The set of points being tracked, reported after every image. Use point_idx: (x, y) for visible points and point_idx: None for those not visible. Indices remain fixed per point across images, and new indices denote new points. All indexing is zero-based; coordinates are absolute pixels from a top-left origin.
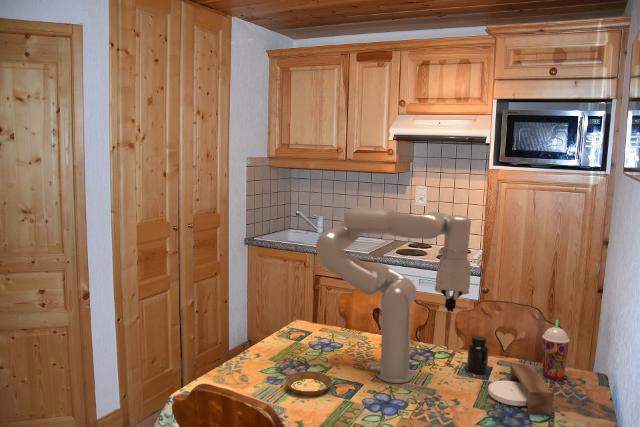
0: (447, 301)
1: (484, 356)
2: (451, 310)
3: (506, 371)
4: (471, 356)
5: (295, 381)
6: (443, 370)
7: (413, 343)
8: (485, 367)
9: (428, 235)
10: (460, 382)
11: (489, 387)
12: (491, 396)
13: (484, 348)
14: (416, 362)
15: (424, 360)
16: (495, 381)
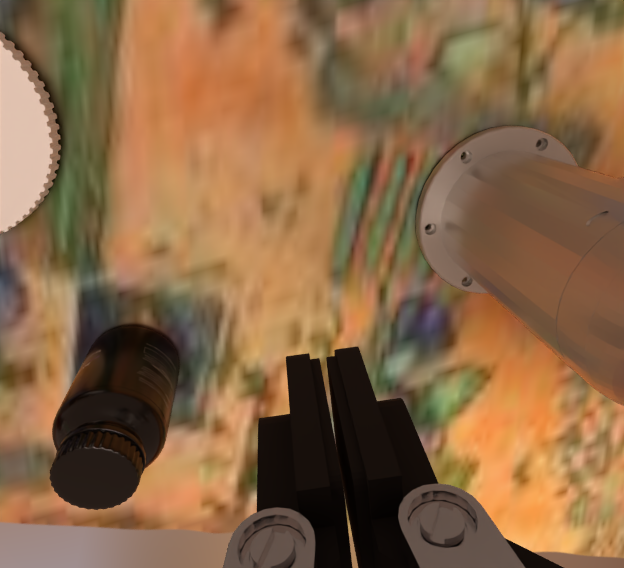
0: (408, 468)
1: (78, 383)
2: (309, 360)
3: (3, 394)
4: (149, 376)
5: None
6: (281, 324)
7: None
8: (87, 355)
9: None
10: (203, 223)
11: (45, 134)
12: (35, 71)
13: (68, 417)
14: (394, 367)
15: None
16: (23, 218)
